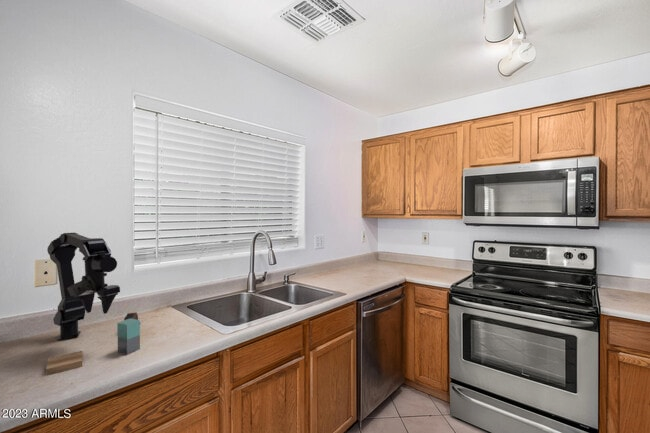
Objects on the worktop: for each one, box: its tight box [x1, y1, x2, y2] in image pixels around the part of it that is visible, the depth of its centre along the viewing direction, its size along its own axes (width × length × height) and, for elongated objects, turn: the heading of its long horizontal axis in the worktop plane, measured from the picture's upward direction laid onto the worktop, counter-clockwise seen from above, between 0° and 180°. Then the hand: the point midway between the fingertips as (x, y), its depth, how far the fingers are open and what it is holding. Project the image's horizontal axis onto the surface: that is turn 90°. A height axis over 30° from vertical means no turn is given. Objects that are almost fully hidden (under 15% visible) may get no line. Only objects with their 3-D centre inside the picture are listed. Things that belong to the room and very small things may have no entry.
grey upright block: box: [123, 311, 139, 321], centre depth 134 cm, size 4×10×8 cm, turn 16°
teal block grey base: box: [116, 318, 141, 355], centre depth 114 cm, size 5×5×11 cm
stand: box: [45, 350, 84, 376], centre depth 103 cm, size 9×9×2 cm
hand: (97, 312), depth 116 cm, fingers open, 9 cm apart
